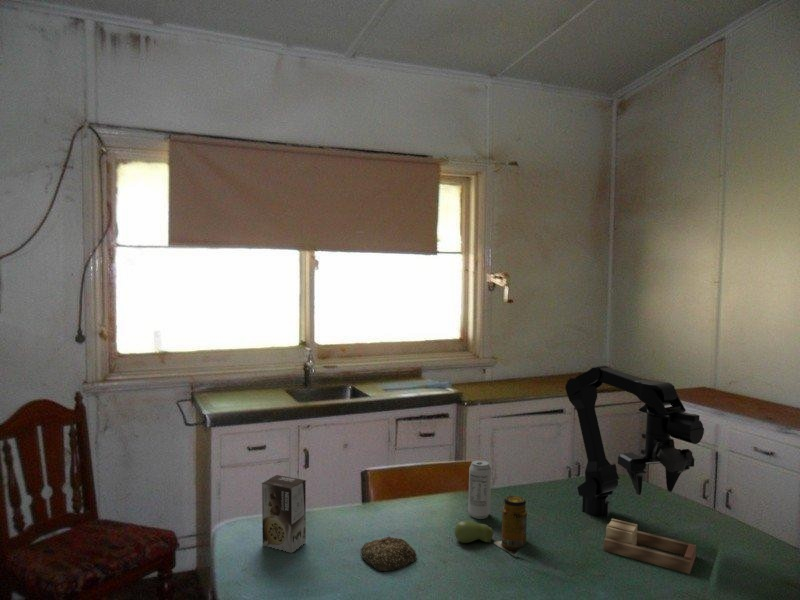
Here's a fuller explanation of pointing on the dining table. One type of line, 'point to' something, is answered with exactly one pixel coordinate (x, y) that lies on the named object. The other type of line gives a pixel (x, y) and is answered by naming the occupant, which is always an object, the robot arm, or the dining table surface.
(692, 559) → the bay
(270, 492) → the coffee box
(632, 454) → the robot arm
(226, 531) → the dining table surface
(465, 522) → the pear
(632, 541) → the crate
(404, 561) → the bread roll
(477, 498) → the energy drink can
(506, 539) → the condiment
